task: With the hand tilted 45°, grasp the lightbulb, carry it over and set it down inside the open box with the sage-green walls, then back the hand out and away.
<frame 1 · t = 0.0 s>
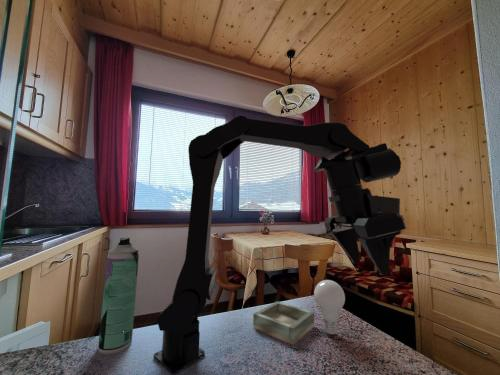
hand: (369, 268, 41), 15 cm above the kitchen counter, tool pointing down, fingers open, 9 cm apart
spray can: (115, 347, 42), on the kitchen counter
open box: (284, 327, 50), on the kitchen counter
lightbulb: (330, 335, 47), on the kitchen counter
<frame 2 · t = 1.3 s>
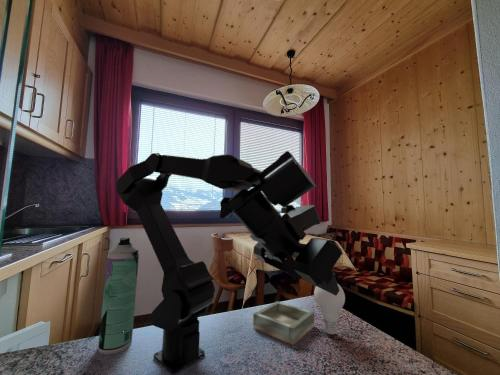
hand: (317, 284, 39), 13 cm above the kitchen counter, tool tilted 45°, fingers open, 9 cm apart
nothing on the kitchen counter moved.
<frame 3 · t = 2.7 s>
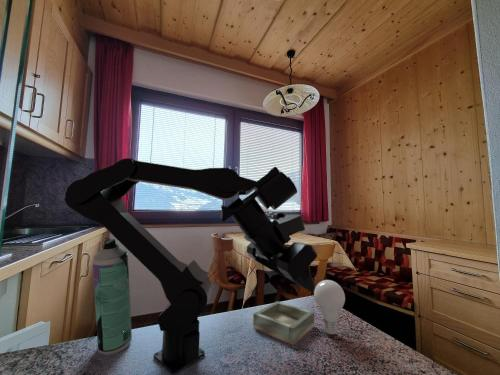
hand: (298, 282, 46), 11 cm above the kitchen counter, tool tilted 40°, fingers open, 9 cm apart
spray can: (115, 344, 42), on the kitchen counter, touching arm
everything else where it was.
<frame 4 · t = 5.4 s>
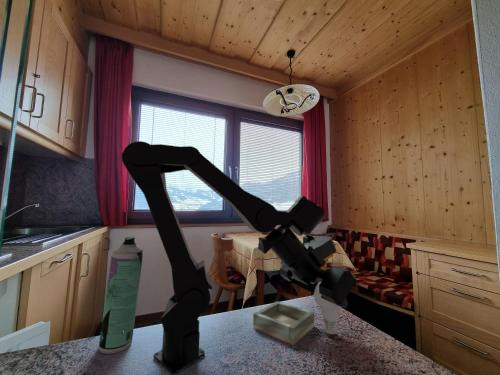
hand: (334, 300, 49), 7 cm above the kitchen counter, tool tilted 45°, fingers closed on lightbulb, 6 cm apart
spray can: (115, 346, 42), on the kitchen counter
lightbulb: (330, 335, 47), on the kitchen counter, touching gripper
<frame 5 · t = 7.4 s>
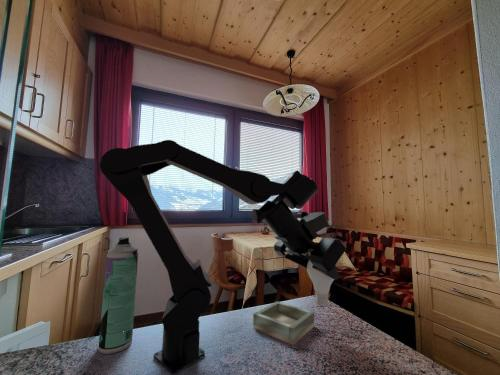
hand: (326, 274, 49), 12 cm above the kitchen counter, tool tilted 45°, fingers closed on lightbulb, 6 cm apart
lightbulb: (321, 307, 48), point 5 cm above the kitchen counter, touching gripper
when the fingers open (9 cm above the kitchen counter, at t = 9.4 s): lightbulb stays where it is, point 1 cm above the kitchen counter.
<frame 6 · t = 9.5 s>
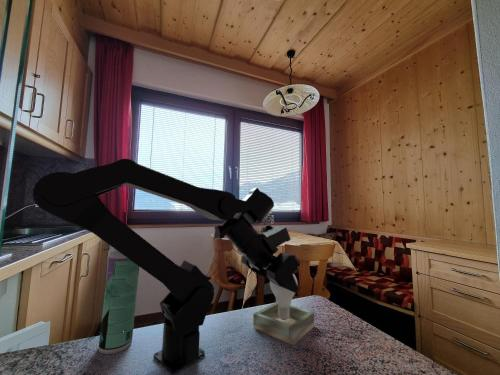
hand: (288, 286, 51), 9 cm above the kitchen counter, tool tilted 45°, fingers open, 6 cm apart
lightbulb: (283, 320, 50), point 1 cm above the kitchen counter
everything else where it was.
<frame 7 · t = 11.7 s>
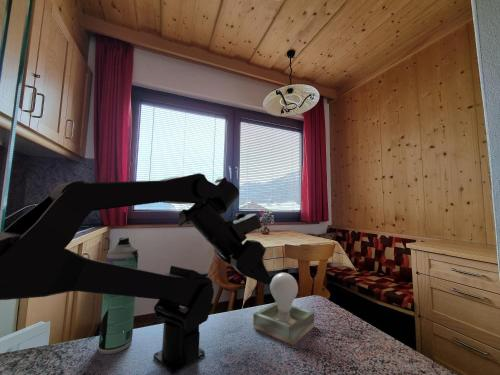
hand: (260, 277, 49), 11 cm above the kitchen counter, tool tilted 45°, fingers open, 9 cm apart
lightbulb: (284, 324, 50), point 1 cm above the kitchen counter, touching open box
everything else where it was.
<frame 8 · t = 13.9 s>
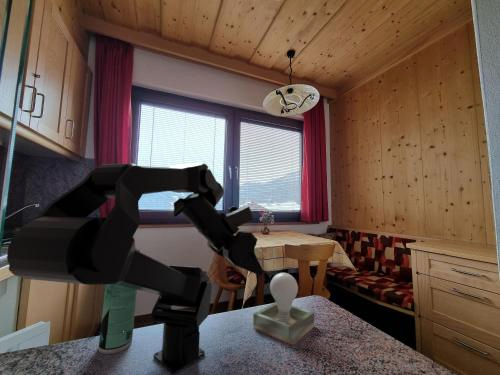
hand: (252, 268, 49), 13 cm above the kitchen counter, tool tilted 45°, fingers open, 9 cm apart
nothing on the kitchen counter moved.
at the end: lightbulb 0.2 cm off-centre on the open box, point 0.6 cm above the open box's base; the gripper is holding nothing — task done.
